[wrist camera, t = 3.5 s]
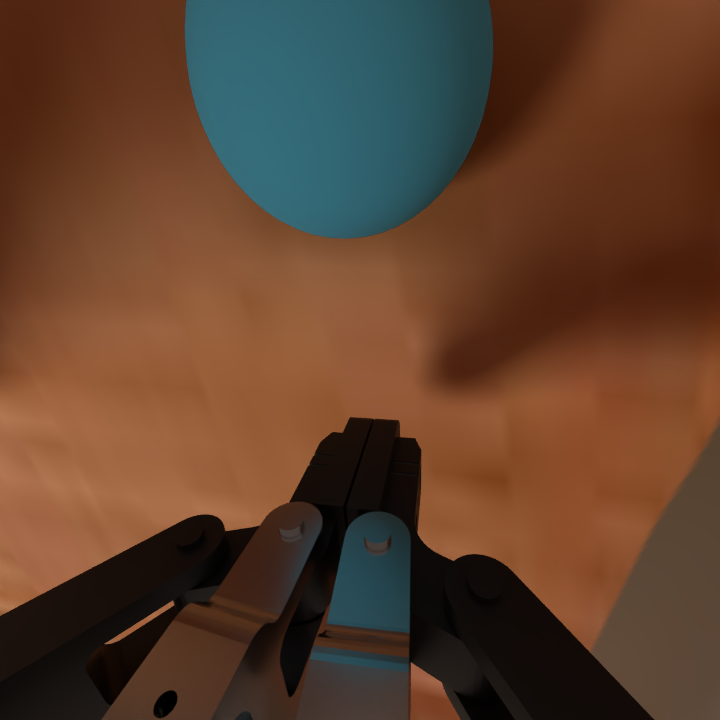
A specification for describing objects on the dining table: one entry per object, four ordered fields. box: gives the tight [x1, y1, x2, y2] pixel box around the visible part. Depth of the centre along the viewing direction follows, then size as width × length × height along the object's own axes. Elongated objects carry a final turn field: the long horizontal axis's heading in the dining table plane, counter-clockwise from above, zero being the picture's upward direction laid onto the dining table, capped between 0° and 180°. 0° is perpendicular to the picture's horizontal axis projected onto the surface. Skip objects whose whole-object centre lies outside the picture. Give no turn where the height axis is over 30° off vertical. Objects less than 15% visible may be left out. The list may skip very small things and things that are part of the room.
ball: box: [185, 0, 493, 239], centre depth 8 cm, size 6×6×6 cm
